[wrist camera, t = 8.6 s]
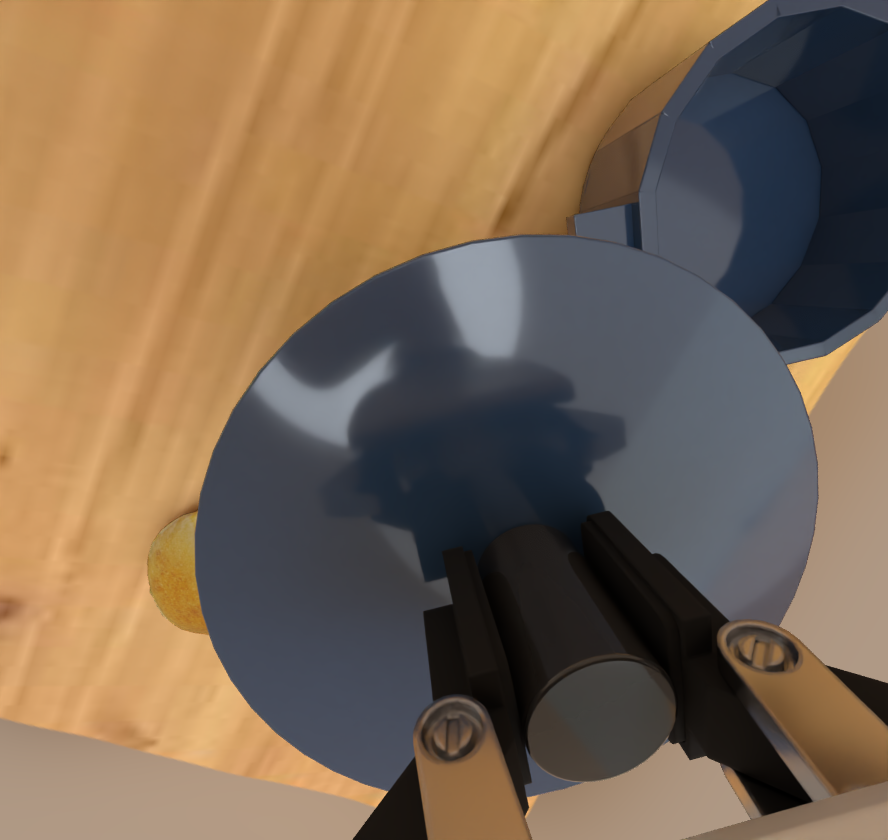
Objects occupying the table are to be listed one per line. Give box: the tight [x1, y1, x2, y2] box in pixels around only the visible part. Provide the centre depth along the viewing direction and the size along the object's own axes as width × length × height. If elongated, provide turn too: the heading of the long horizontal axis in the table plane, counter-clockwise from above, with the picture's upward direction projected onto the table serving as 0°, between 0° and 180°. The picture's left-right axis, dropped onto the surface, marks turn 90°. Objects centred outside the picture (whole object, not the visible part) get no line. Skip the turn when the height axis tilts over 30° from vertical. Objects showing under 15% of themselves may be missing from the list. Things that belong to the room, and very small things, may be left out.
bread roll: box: [147, 511, 209, 635], centre depth 29 cm, size 8×9×4 cm
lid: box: [194, 234, 818, 797], centre depth 11 cm, size 17×17×6 cm
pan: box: [566, 0, 888, 365], centre depth 25 cm, size 16×21×7 cm
